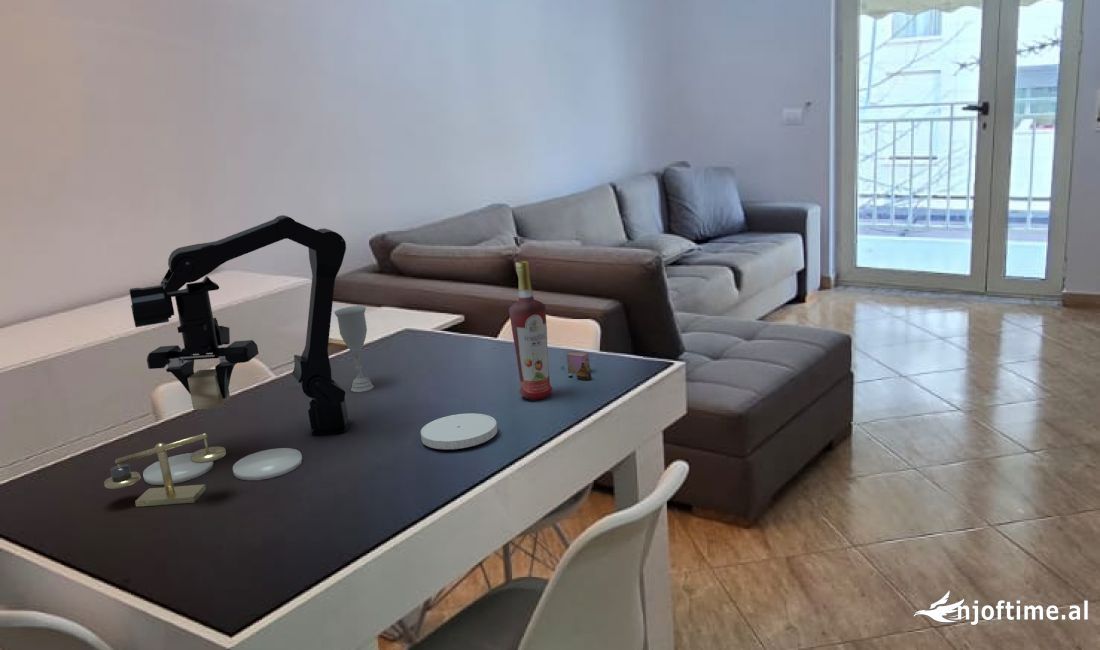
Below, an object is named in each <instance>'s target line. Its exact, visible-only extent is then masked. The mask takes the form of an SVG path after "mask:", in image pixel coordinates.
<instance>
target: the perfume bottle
mask: <svg viewBox="0 0 1100 650" xmlns="http://www.w3.org/2000/svg"><path fill="white" fill-rule="evenodd" d="M566 360H567V361H566V363H567V372H568V378H570V377H571V378H573V376H574V375H573V374H575V375H576V378H577V379H578V380H580V381H590V380H591V379H592V374H591V365H590V353H588V352H579V351H571V352H569V353H567V354H566Z"/></svg>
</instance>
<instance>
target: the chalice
mask: <svg viewBox="0 0 1100 650" xmlns="http://www.w3.org/2000/svg"><path fill="white" fill-rule="evenodd" d="M366 310H367V307H366V306H365V305H353V306H352V305H351V306H347V307H342V308H339V309H337V310H335V311H333V313H334V315H335V316H336V317H337V323H338V328H339V329H338V330H339V334H340V337H341V339H342V340H343V343H344V344H345V346H346V347H348V349H349V351H351V352H354V362H355V363H356V365H355V370H356V372H357V375H356V377H355V378H353V381H352V385H351V386H352V387H351V388H350V391H351V392H354V393H360V392H361V393H362V392H366V391H371V390H372V389H373V388H374V384H372V381H371V380H370V378H369V377H368V376H366V375H364V374H363V372H362V371H363V367H364V366H363V365H362V364H361V360H362V358H361V356H360V351H361V350H363V347H364V344H365V341H366V337H367V331H368V328H367V321H366V320H367V319H366V315H365V314H366V313H365V312H366Z"/></svg>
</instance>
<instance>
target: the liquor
mask: <svg viewBox="0 0 1100 650" xmlns="http://www.w3.org/2000/svg"><path fill="white" fill-rule="evenodd" d="M515 271H516V274H517V278H518V301H516V302H514V303H513V304H512V305H511V306H510V307H509V308H508V311H509V312H508V313H509V319H510V324H511V325H510V326H511V332H512V338H513V339H512V340H513V343H514V350H515V355H516V361H517V367H518V377H519V382H520V384H519V385H520V389H519V391H518V393H519V395H521V396H522V397H524V399H526V400H528V401H540V400H543V399H547V397H548V396H550V394H551V392H552V391H553V389H554V388H553V386H552V385H551V382H550V380H551V379H550V367H549V365H550V364H549V353H548V331H547V330H548V327H547V326H548V325H547V316H546V315H547V314H546V313H547V312H546V304H544V303H543V302H541V301H540V300H538V299H534V293H533V288H532V283H531V278H530V275H531V274H530V273H531V268H530V261H528V260H524V261H523V260H522V261H517V262H515Z"/></svg>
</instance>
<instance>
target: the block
mask: <svg viewBox="0 0 1100 650" xmlns="http://www.w3.org/2000/svg"><path fill="white" fill-rule="evenodd" d="M188 384H189V389H190V394H191V395H190V394H189V395H190V399H191V404H192V409H193V410H207V409H220V408H221V407H223V406H224V405H225V404H226V403H227V402H229V401H230V400H231V394H230V388H229V389H228V394H227V397H226V398H225V399H223V397H222V394H221V392H220V388H219V383H218V378H217V374H216V369H215V368H212V369H199V370H197V371H195V372H194V374H193V375H191V376H190V377H189V378H188Z"/></svg>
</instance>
